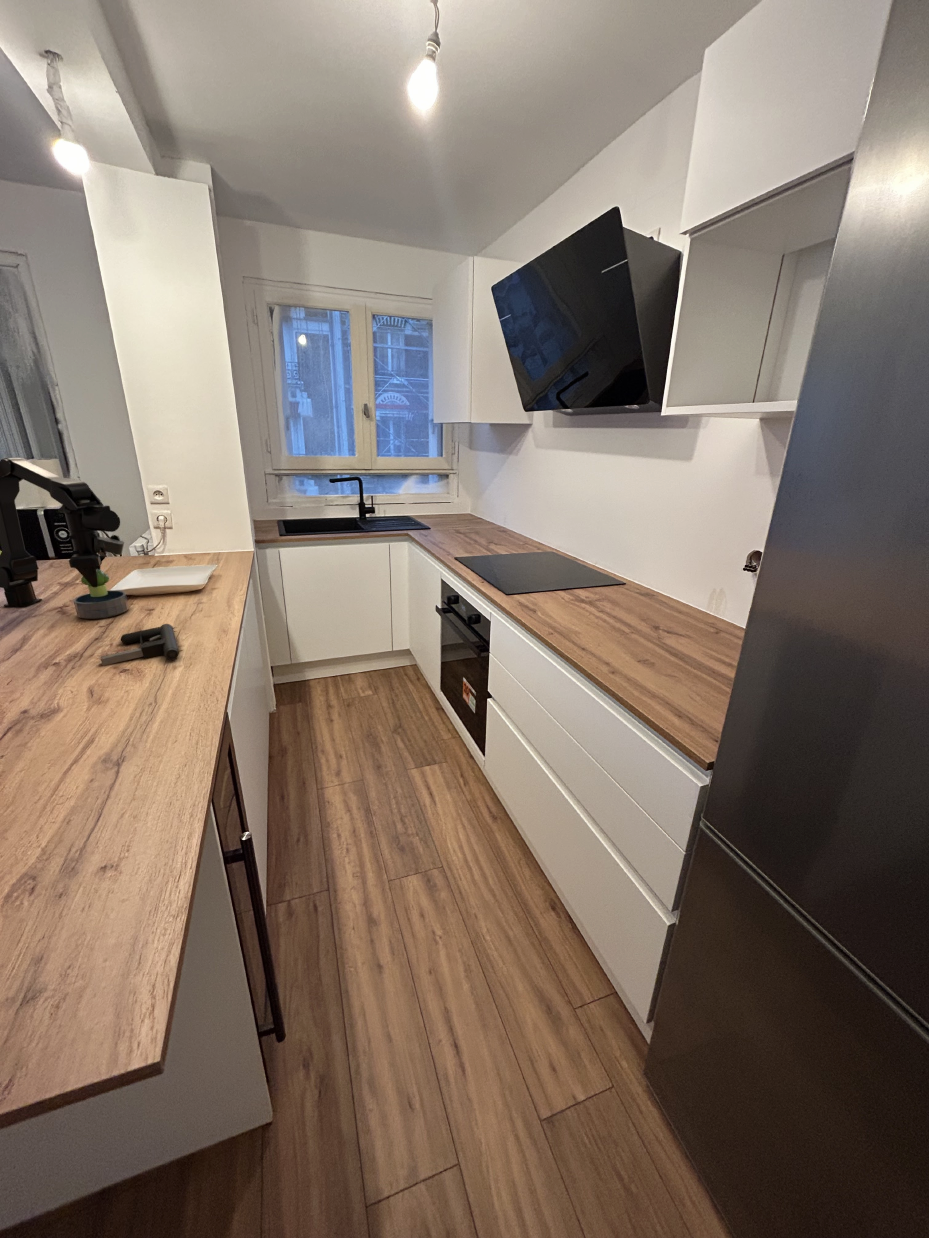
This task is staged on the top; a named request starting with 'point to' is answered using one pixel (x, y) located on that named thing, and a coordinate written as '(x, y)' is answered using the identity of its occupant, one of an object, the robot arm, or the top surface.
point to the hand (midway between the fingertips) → (96, 584)
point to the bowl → (101, 605)
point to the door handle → (147, 645)
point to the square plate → (165, 580)
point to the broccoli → (101, 588)
